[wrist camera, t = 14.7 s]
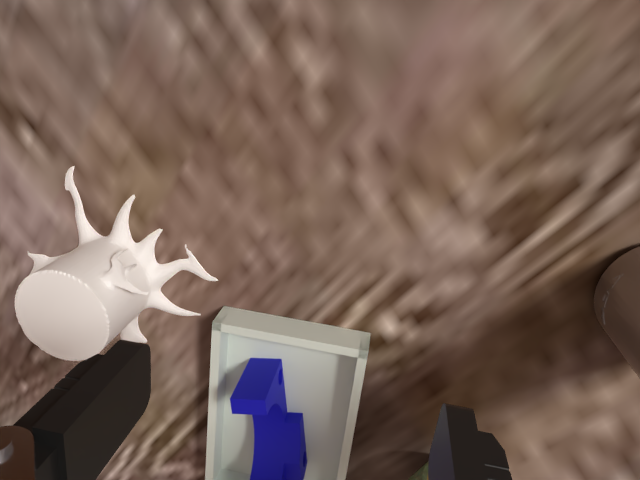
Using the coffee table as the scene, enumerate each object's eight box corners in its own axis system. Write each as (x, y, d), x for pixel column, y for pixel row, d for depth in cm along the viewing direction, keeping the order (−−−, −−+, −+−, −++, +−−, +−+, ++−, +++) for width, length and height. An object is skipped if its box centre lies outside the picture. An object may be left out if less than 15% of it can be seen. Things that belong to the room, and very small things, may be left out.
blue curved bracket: (307, 462, 50) (295, 513, 44) (263, 459, 50) (246, 509, 45) (297, 359, 46) (283, 401, 40) (250, 357, 46) (229, 398, 41)
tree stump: (255, 314, 46) (226, 364, 38) (106, 389, 52) (56, 445, 44) (124, 124, 42) (62, 139, 34) (-22, 229, 47) (-102, 262, 40)
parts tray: (370, 332, 44) (368, 351, 41) (341, 495, 51) (337, 521, 48) (223, 305, 46) (212, 322, 43) (214, 468, 53) (204, 491, 50)
